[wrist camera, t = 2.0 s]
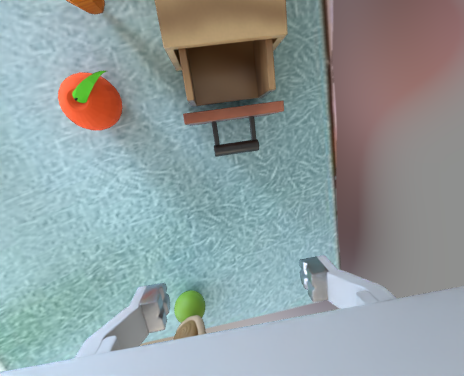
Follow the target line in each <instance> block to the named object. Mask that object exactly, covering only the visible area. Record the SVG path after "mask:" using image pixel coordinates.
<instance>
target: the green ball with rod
mask: <svg viewBox="0 0 464 376" xmlns="http://www.w3.org/2000/svg"><path fill="white" fill-rule="evenodd" d="M174 311H175V316H176V318H177V319H178V321H179V322H180V323H181V324H180V325H179V327H178V329H177V331H176V334H175V336H174V339H173V340H176V339H181V338H186V337H192V336H197V335H202V334H207V333H206V332H205V325H204V322H203V319H202V317H203V315H204V312H205V301H204V298H203V297H202V295H201V294H200V293H198V292H196V291H192V290H191V291H186V292H184V293H182V294H181V295H180V296H179V297H178V299H177V301H176V303H175V308H174Z"/></svg>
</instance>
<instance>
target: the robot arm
mask: <svg viewBox="0 0 464 376" xmlns="http://www.w3.org/2000/svg"><path fill="white" fill-rule="evenodd" d="M299 266H300V267H301V271H300V278H301V282H302V284H303V286H304V288H305V289H307V290H308V295H309V296H310V298H311V300H312V301H313V302H320V301H327V300H328V301H329V302H330V303H332V304H333V305H335V306H336V307H338V308H339V309H337V310H331V311H326V312H321V313H316V314H310V315H305V316H299V317H294V318H289V319H283V320H278V321H272V322H267V323H262V324H256V325H251V326H246V327H240V328H235V329H230V330H224V331H219V332H213V333H208V334H202V335H197V336H192V337H186V338H181V339H176V340H170V341H165V342H159V343H154V344H149V345H143V346H140V345H141V343H142V342H143V341H144V340H145V338H146V337H147V336H148V335H149V333H152V332H157V331H161V330H165V326H166V322H167V316H166V315H167V314H168V313H169V310H170V298H169V295H168V294H167V293H166V291H167V286H166V284H165V283H160V284H153V285H148V286H141V287H138V289H137V291H136V293H135V295H134V297H133V299H132V301H131V303H130V305H129V307H128V308H125V309H123V310H122V311H121V312H120V313H119V314H117V315H116V316H115V317H114V318H112V319H111V320H110V321H109V322H107V323H106V324H105V325H104V326H102V327H101V328H100V329H99V330H97V331H96V332H95V333H94V334H92V335H91V336H90V337H89V338H88V339H86V340H85V342H84V343H83V345H82V346H81V348H80V350H79V351H78V353H77V354H76V356H75V358H73V359H68V360H63V361H57V362H52V363H47V364H41V365H36V366H30V367H25V368H20V369H14V370H9V371H2V372H0V376H464V286H461V287H455V288H450V289H444V290H439V291H434V292H429V293H423V294H418V295H412V296H407V297H402V298H396V297H395V296H394V295H393V294H392V293H391V292H390V291H389V290H387V289H386V288H385V287H384V286H382V285H379V284H377V283H374V282H372V281H369V280H366V279H364V278H361V277H359V276H356V275H353V274H351V273H348V272H346V271H343V270H338V269H337V268H336V267H335V266H334V265H333V264H332V263H331V261H330V260H329V259H328V258H327V257H326V256H325V255H320V256H315V257H311V258H306V259H300V260H299Z"/></svg>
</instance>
